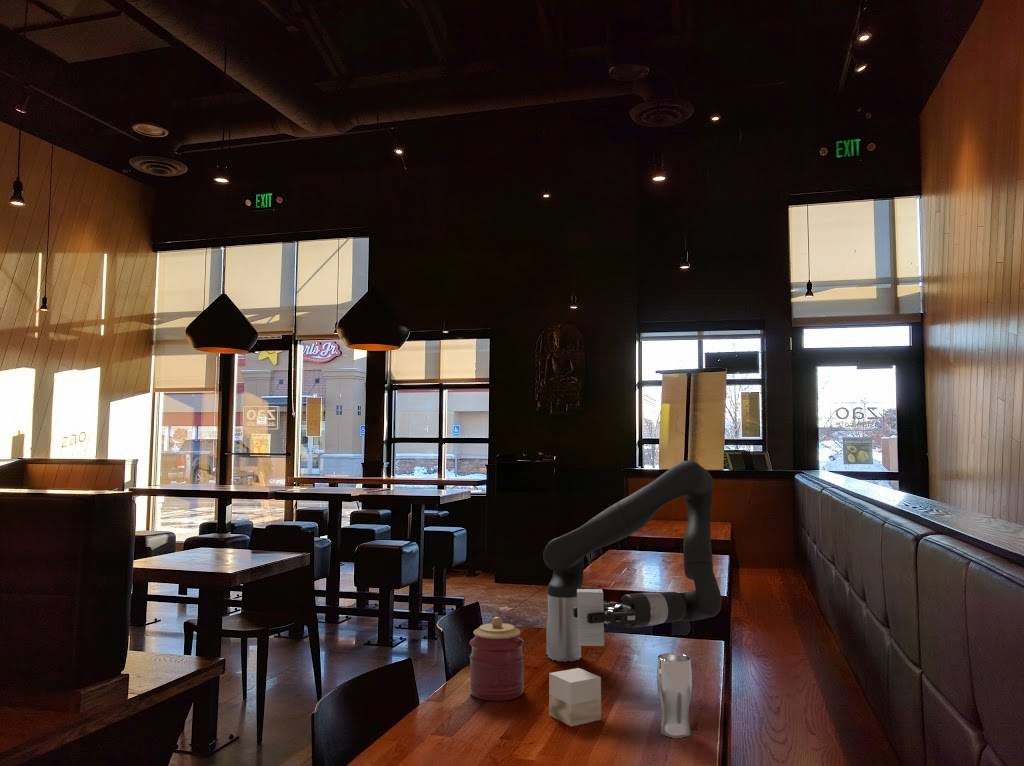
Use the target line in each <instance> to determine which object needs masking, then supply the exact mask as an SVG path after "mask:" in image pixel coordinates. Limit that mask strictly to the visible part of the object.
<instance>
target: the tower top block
mask: <svg viewBox="0 0 1024 766" xmlns="http://www.w3.org/2000/svg"><path fill="white" fill-rule="evenodd" d="M548 675H549V676H548V678H549V679H548V685H549V686H548V692H549V693H548V694H549V695H551V696H553V697H555V698H557V699H560V700H562V701H564V702H566V703H568V704H570V705H572V704H577V703H582V702H587V701H592V700H597V699H601V700H602V676H599V675H597V674H594V673H592V672H589V671H587V670H585V669H582V668H580V667H576V668H569V669H566V670H560V671H553V672H548ZM549 695H548V696H549Z"/></svg>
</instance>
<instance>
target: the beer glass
mask: <svg viewBox="0 0 1024 766" xmlns="http://www.w3.org/2000/svg"><path fill="white" fill-rule="evenodd" d="M691 663H692V662H691V657H690V656H688V655H685V654H682V653H669V652H668V653H661V654H659V655H657V666H656V667H657V669H656V682H657V683H656V684H657V691H658V696H659V702H660V707H661V723H660V729H659V732H661V733H660V734H661V735H662V734H663V735H662V736H664V735H665V737H666V736H668V737H667V738H669V737H674V738H673V739H676V737H677V738H679V737H686V736H689V735H690V736H691V727H690V721H689V711H690V710H689V709H690V702H691V697H692V689H693V688H692V687H693V675H692V674H693V673H692V664H691ZM690 736H689V737H690Z"/></svg>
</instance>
